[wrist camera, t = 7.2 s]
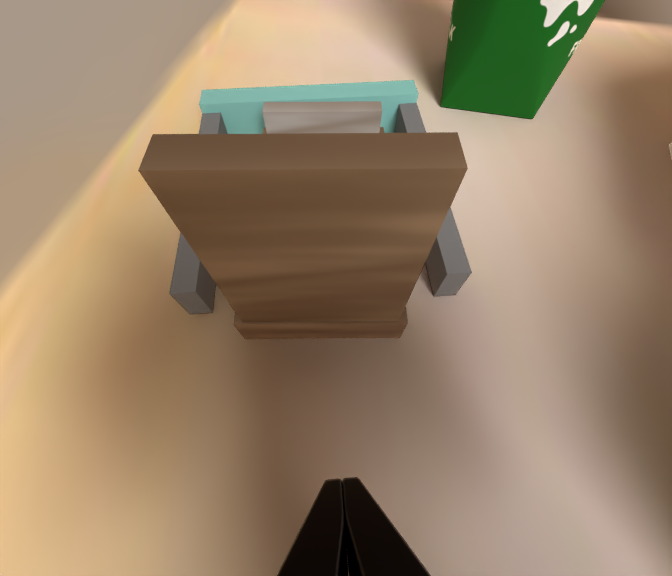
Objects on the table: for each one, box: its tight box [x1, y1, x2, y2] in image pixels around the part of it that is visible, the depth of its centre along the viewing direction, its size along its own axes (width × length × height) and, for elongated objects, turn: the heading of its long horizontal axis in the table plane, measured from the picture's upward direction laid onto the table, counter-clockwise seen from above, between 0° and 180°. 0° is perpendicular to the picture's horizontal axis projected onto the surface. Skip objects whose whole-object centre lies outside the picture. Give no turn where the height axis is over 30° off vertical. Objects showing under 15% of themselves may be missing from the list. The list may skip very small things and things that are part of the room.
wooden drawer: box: [138, 101, 468, 339], centre depth 15 cm, size 14×8×11 cm, turn 1°
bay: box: [169, 80, 472, 314], centre depth 20 cm, size 15×14×3 cm
